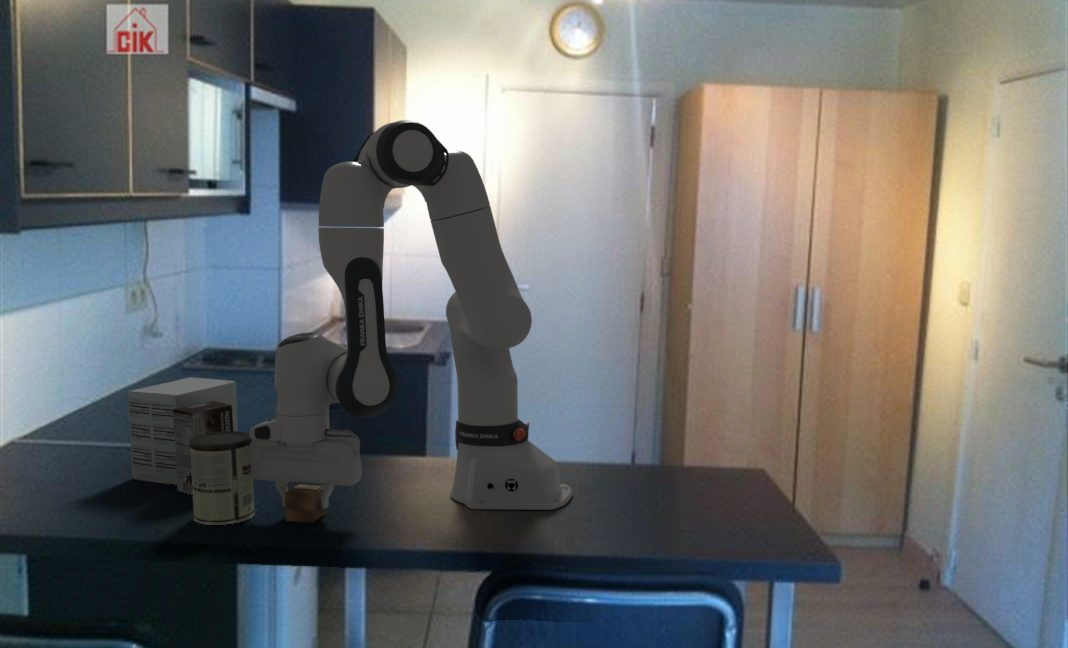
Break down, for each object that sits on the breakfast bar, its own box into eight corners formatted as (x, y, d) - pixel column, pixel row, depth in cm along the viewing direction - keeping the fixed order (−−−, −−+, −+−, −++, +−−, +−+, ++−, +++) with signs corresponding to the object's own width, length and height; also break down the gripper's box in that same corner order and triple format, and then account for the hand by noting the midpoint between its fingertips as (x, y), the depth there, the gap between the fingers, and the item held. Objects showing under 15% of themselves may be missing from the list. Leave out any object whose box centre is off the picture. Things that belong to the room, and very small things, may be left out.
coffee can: (198, 510, 172) (194, 432, 170) (258, 506, 173) (255, 429, 172) (187, 528, 162) (183, 445, 160) (251, 524, 163) (248, 442, 162)
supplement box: (193, 459, 208) (189, 376, 206) (241, 465, 202) (238, 380, 200) (129, 479, 192) (124, 389, 190) (179, 486, 187) (175, 394, 185)
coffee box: (216, 481, 191) (212, 400, 189) (237, 486, 187) (233, 404, 185) (175, 491, 183) (171, 408, 181) (196, 497, 180) (192, 411, 178)
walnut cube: (325, 514, 169) (324, 485, 168) (312, 523, 164) (311, 493, 163) (299, 512, 170) (298, 483, 169) (285, 520, 165) (284, 491, 165)
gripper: (366, 426, 166) (368, 505, 167) (259, 421, 171) (262, 497, 172) (351, 435, 160) (353, 516, 161) (240, 429, 165) (243, 508, 166)
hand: (305, 506), depth 167 cm, fingers closed on walnut cube, 5 cm apart
